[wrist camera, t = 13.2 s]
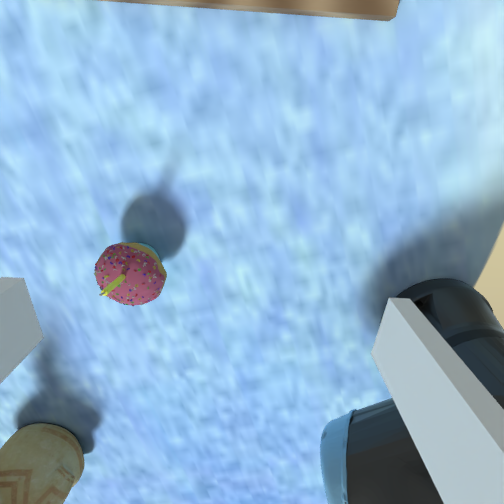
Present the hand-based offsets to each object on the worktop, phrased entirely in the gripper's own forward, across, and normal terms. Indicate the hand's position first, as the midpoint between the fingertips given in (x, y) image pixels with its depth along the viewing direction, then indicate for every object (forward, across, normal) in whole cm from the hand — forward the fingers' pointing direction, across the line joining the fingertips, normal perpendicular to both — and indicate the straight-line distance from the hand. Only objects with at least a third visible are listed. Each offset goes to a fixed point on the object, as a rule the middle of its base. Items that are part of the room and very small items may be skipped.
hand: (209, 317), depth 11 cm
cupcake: (+27, +13, +12) cm, 32 cm away
